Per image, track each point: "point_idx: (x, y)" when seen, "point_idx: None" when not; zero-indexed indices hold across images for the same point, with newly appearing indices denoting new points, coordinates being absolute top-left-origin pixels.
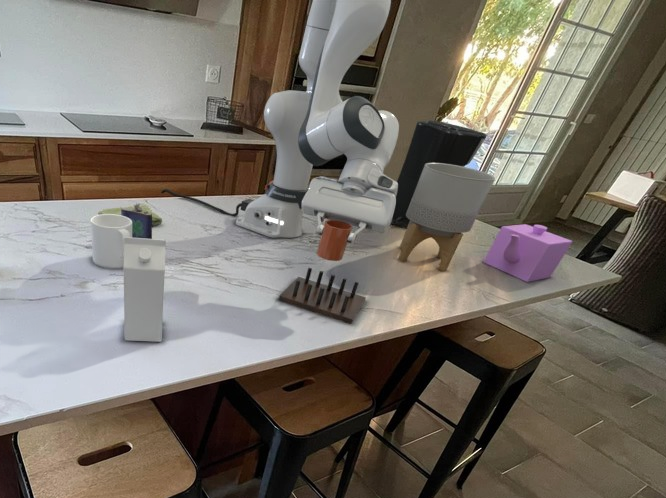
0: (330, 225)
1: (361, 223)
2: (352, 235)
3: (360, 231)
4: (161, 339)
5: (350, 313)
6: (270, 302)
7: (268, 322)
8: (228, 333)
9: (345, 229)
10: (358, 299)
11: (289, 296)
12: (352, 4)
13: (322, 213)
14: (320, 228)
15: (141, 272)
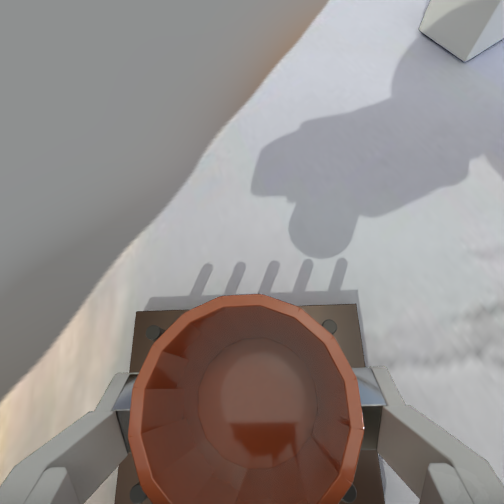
0: (323, 473)
1: (33, 499)
2: (126, 392)
3: (60, 437)
4: (420, 25)
5: (147, 342)
6: (362, 278)
7: (314, 189)
8: (353, 109)
9: (168, 328)
10: (135, 473)
11: (331, 318)
12: None
13: (463, 502)
14: (365, 380)
15: None
